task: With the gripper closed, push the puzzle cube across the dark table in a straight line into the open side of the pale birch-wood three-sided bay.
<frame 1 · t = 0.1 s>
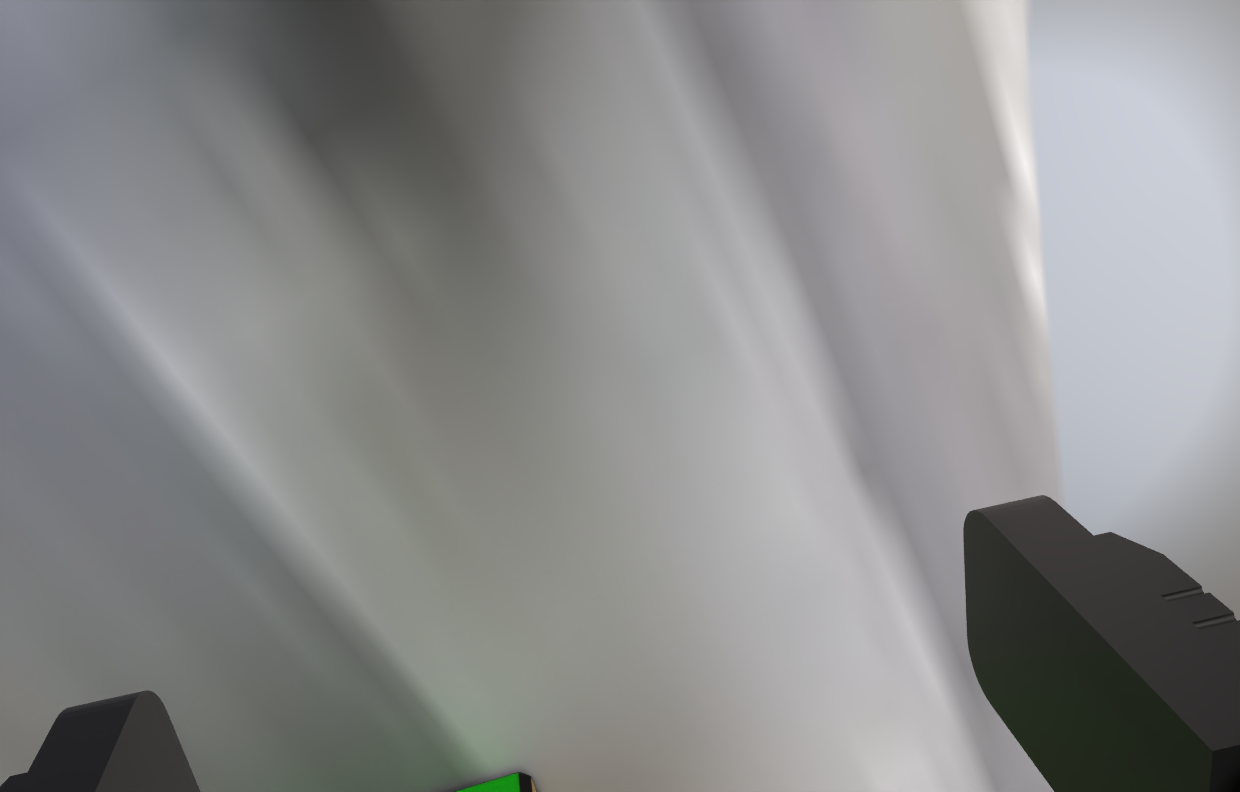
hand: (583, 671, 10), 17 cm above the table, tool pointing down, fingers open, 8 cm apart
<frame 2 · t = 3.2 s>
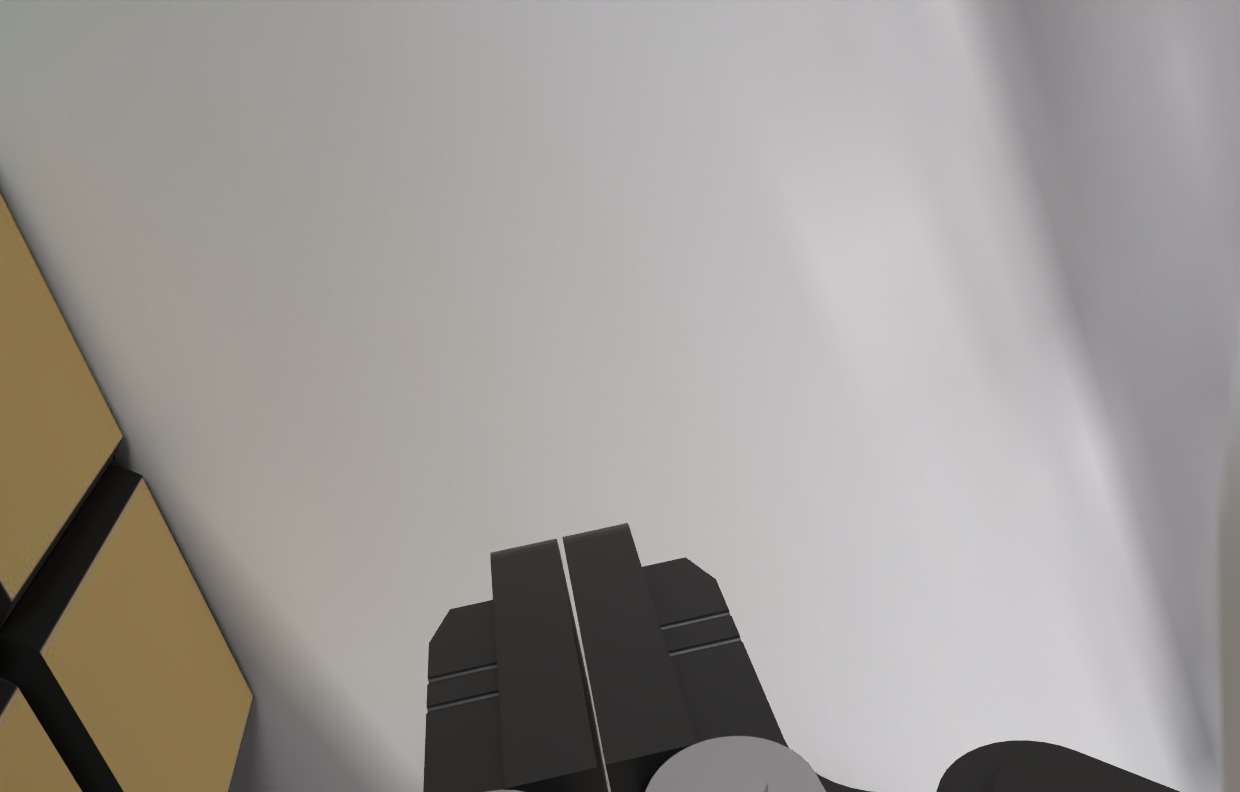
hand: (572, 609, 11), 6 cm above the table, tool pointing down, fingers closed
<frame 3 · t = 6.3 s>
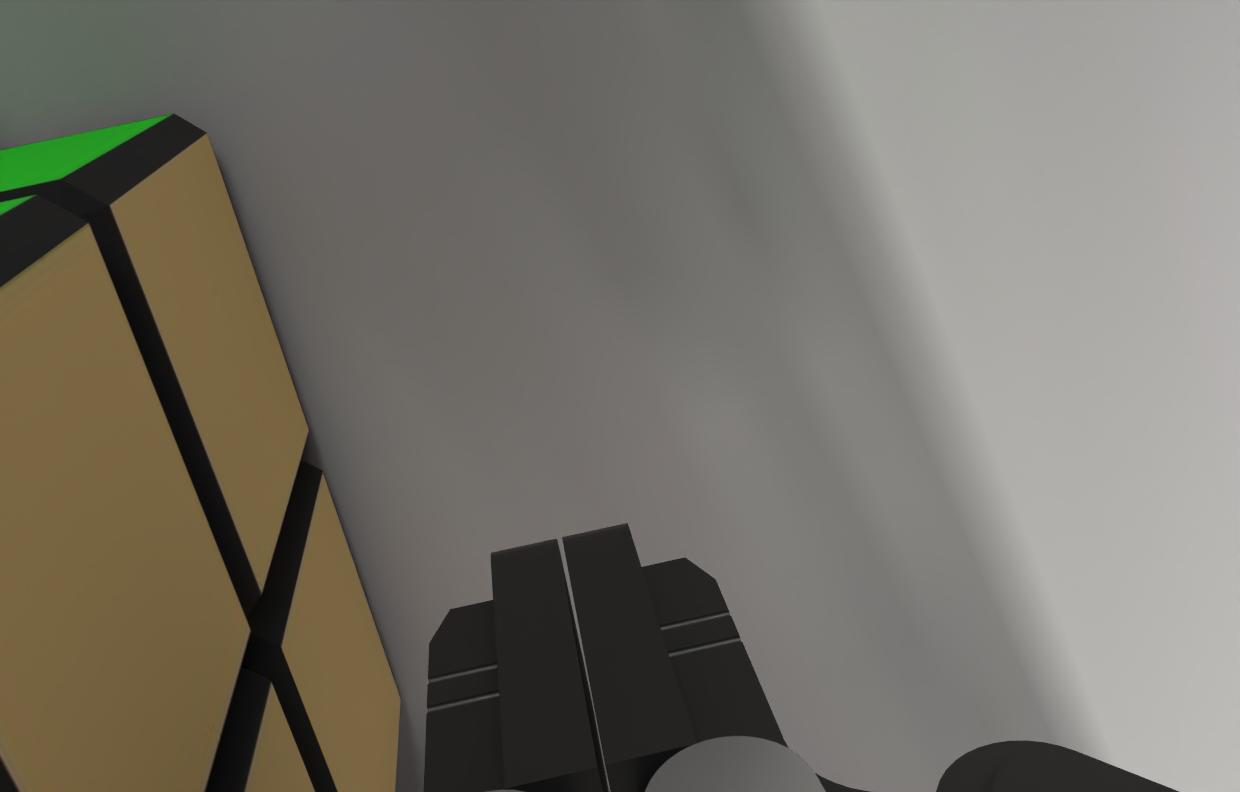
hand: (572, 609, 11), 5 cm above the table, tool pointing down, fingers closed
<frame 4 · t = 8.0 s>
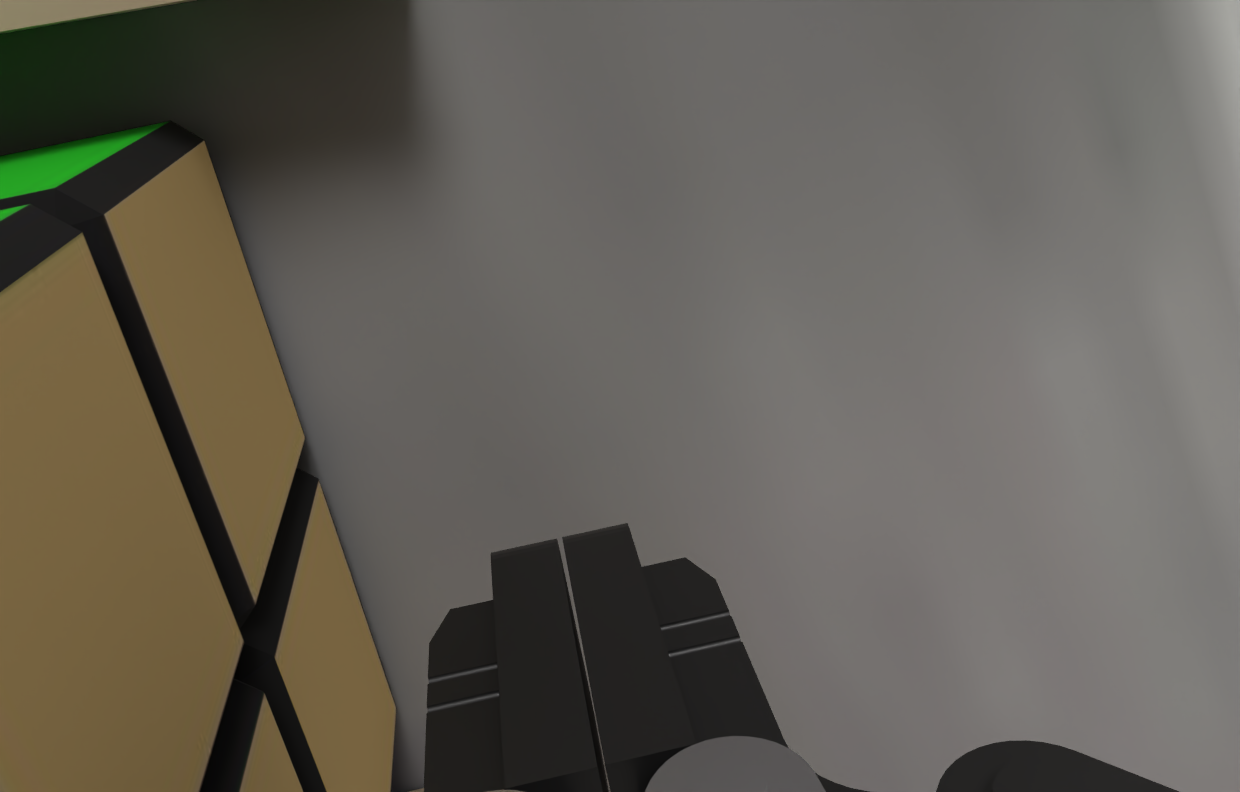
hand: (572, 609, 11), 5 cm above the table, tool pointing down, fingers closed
birch bay: (73, 510, 16), on the table
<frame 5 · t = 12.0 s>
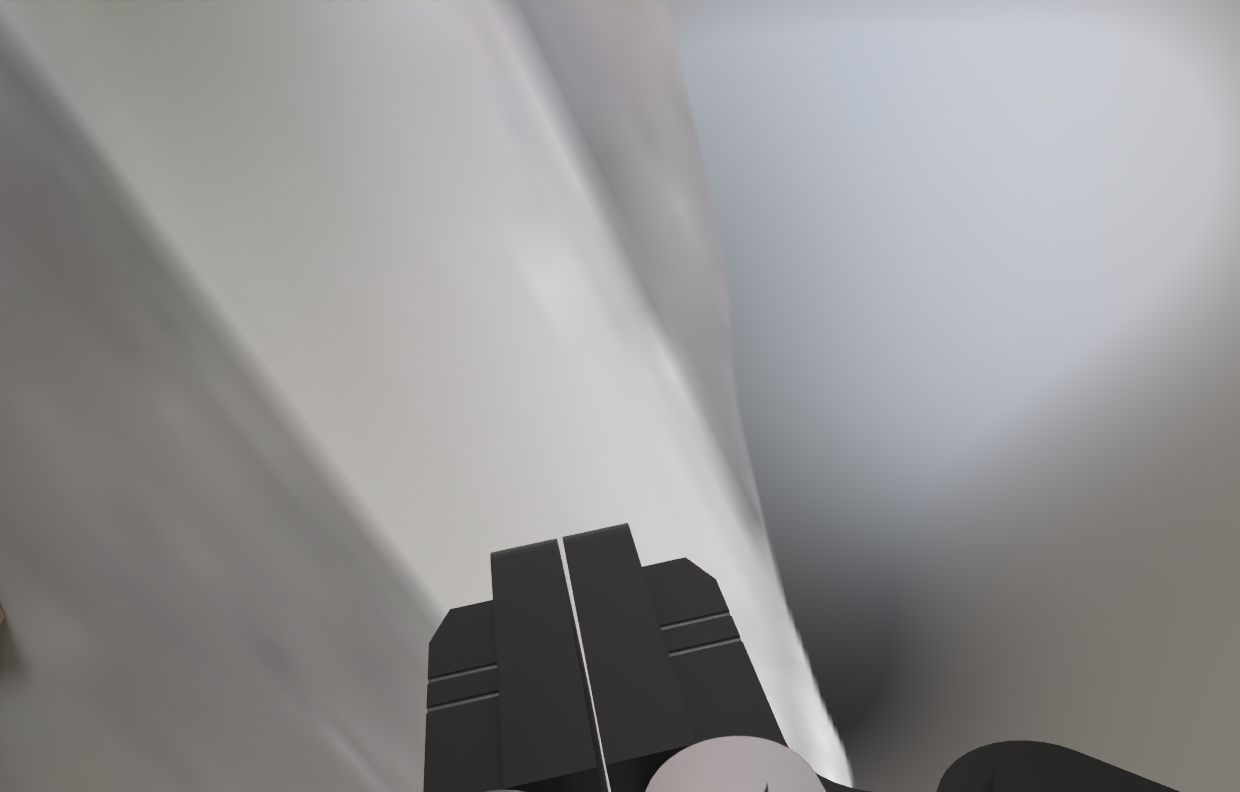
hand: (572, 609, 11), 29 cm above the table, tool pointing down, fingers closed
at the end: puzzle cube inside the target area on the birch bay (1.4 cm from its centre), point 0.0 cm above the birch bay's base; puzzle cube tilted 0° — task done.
